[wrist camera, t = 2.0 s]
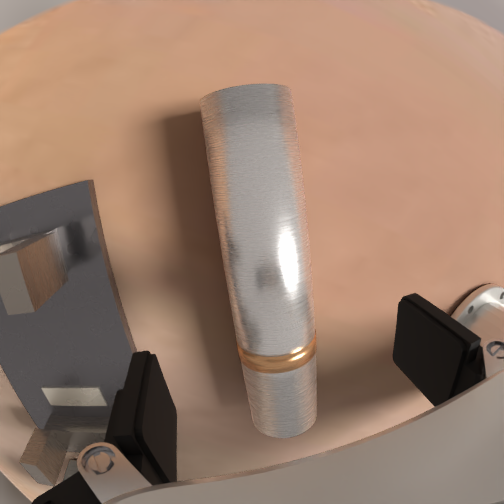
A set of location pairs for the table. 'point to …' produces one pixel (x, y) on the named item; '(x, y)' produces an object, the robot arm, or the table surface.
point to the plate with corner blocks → (60, 323)
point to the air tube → (265, 250)
